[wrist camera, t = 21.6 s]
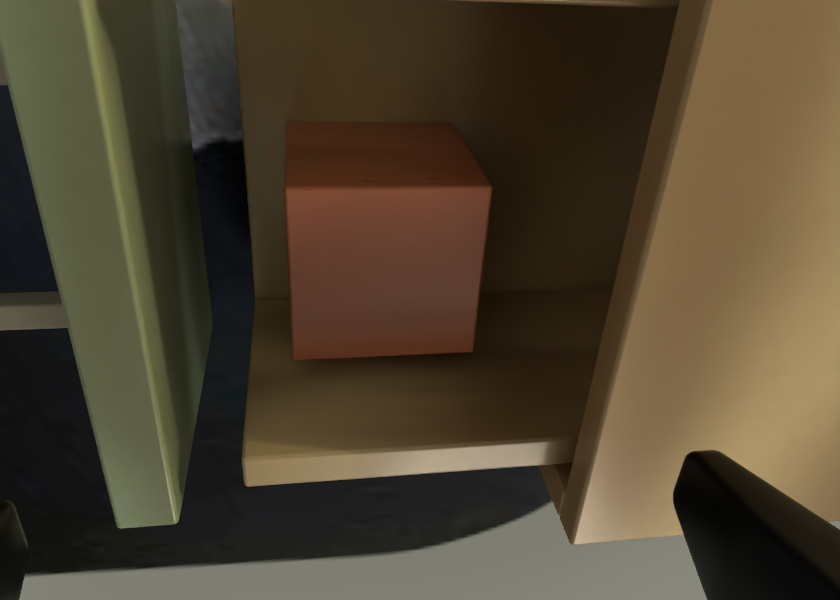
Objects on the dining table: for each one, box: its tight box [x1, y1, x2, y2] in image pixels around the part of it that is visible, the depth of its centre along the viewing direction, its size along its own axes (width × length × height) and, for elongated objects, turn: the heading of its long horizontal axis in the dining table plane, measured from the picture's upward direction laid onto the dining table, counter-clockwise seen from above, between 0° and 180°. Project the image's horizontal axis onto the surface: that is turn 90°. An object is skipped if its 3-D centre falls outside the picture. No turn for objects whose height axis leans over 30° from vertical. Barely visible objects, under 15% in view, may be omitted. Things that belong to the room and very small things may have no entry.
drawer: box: [0, 0, 680, 528], centre depth 15 cm, size 18×11×7 cm, turn 87°
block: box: [284, 122, 493, 360], centre depth 16 cm, size 4×4×4 cm
